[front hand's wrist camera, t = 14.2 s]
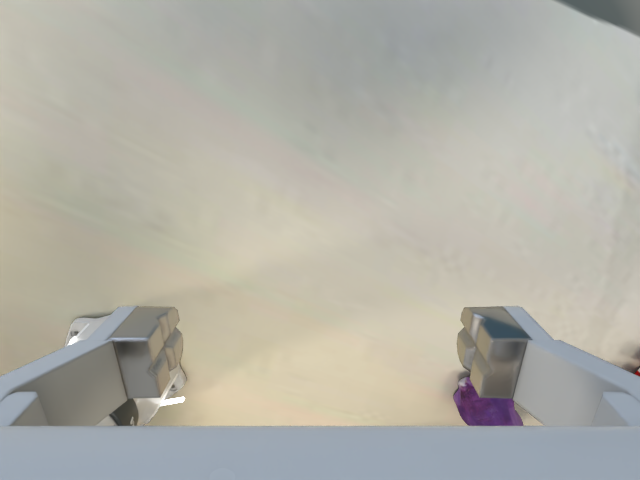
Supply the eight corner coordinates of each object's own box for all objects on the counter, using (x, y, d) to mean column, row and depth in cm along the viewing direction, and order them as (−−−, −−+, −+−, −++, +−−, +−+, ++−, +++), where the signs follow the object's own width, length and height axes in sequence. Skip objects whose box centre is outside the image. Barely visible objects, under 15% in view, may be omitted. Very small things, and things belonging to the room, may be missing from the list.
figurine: (512, 412, 59) (571, 508, 45) (450, 416, 60) (490, 512, 46) (519, 366, 56) (585, 456, 42) (453, 371, 56) (497, 461, 42)
